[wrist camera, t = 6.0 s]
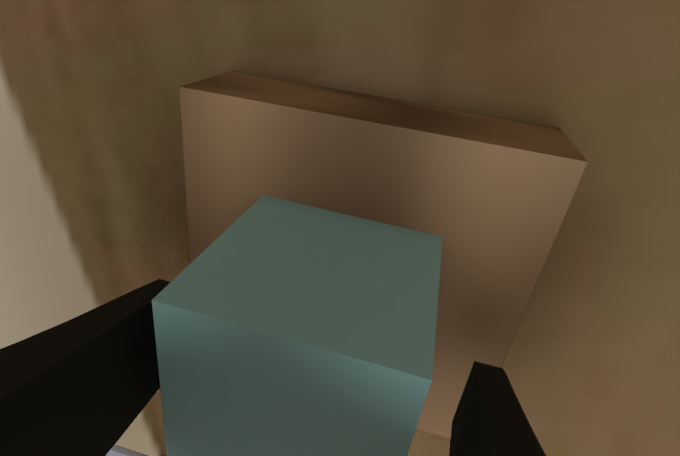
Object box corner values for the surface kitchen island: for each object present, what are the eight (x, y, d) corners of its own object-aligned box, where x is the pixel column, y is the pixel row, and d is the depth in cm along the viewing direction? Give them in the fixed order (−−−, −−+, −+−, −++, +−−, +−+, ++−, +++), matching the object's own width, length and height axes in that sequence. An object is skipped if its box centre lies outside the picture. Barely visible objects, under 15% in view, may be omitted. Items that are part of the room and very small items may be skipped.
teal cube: (256, 330, 14) (168, 469, 10) (263, 194, 12) (151, 300, 8) (403, 372, 14) (377, 542, 9) (442, 236, 11) (432, 380, 7)
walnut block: (238, 306, 19) (196, 364, 16) (239, 69, 14) (179, 86, 11) (467, 367, 17) (469, 444, 14) (556, 124, 13) (588, 162, 9)
